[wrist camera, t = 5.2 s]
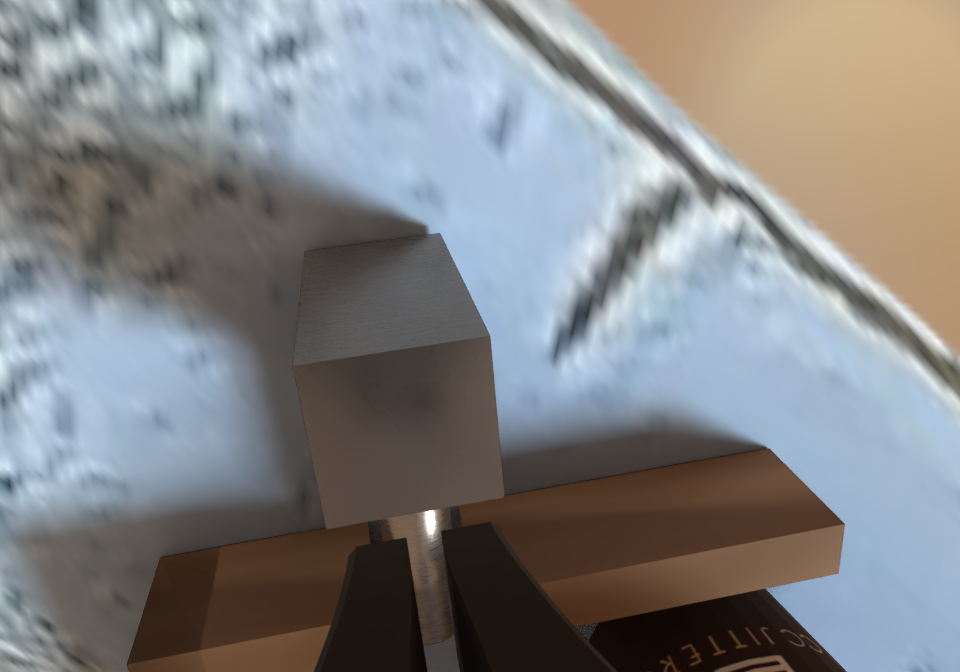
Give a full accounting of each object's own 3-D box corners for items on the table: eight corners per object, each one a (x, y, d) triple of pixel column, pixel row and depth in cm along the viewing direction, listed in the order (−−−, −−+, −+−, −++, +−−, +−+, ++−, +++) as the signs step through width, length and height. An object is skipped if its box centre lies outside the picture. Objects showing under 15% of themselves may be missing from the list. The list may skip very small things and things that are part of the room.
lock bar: (474, 546, 21) (526, 737, 15) (364, 567, 20) (375, 770, 15) (440, 233, 17) (489, 335, 12) (305, 250, 17) (292, 365, 11)
